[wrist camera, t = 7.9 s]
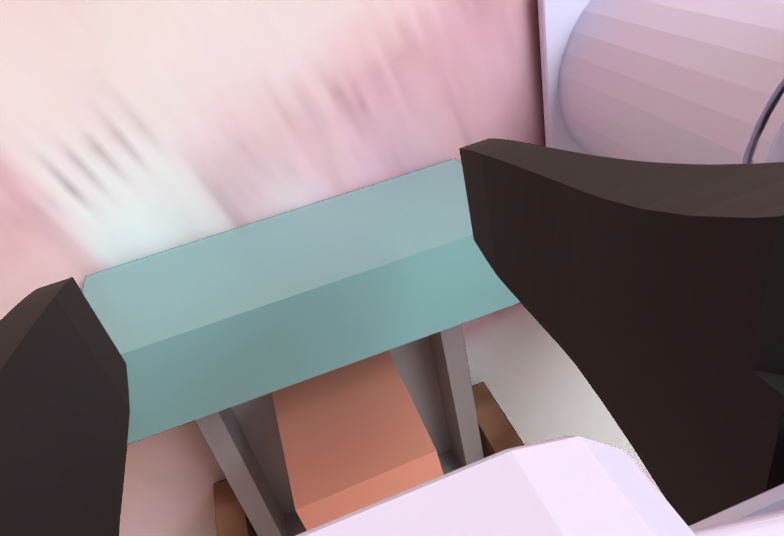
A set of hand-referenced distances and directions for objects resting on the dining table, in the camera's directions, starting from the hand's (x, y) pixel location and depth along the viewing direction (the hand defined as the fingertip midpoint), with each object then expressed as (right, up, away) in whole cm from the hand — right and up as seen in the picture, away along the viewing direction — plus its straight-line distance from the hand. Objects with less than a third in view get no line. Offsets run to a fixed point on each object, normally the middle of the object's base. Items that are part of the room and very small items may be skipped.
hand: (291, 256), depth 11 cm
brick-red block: (0, -5, +13) cm, 14 cm away
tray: (-1, -4, +13) cm, 14 cm away
